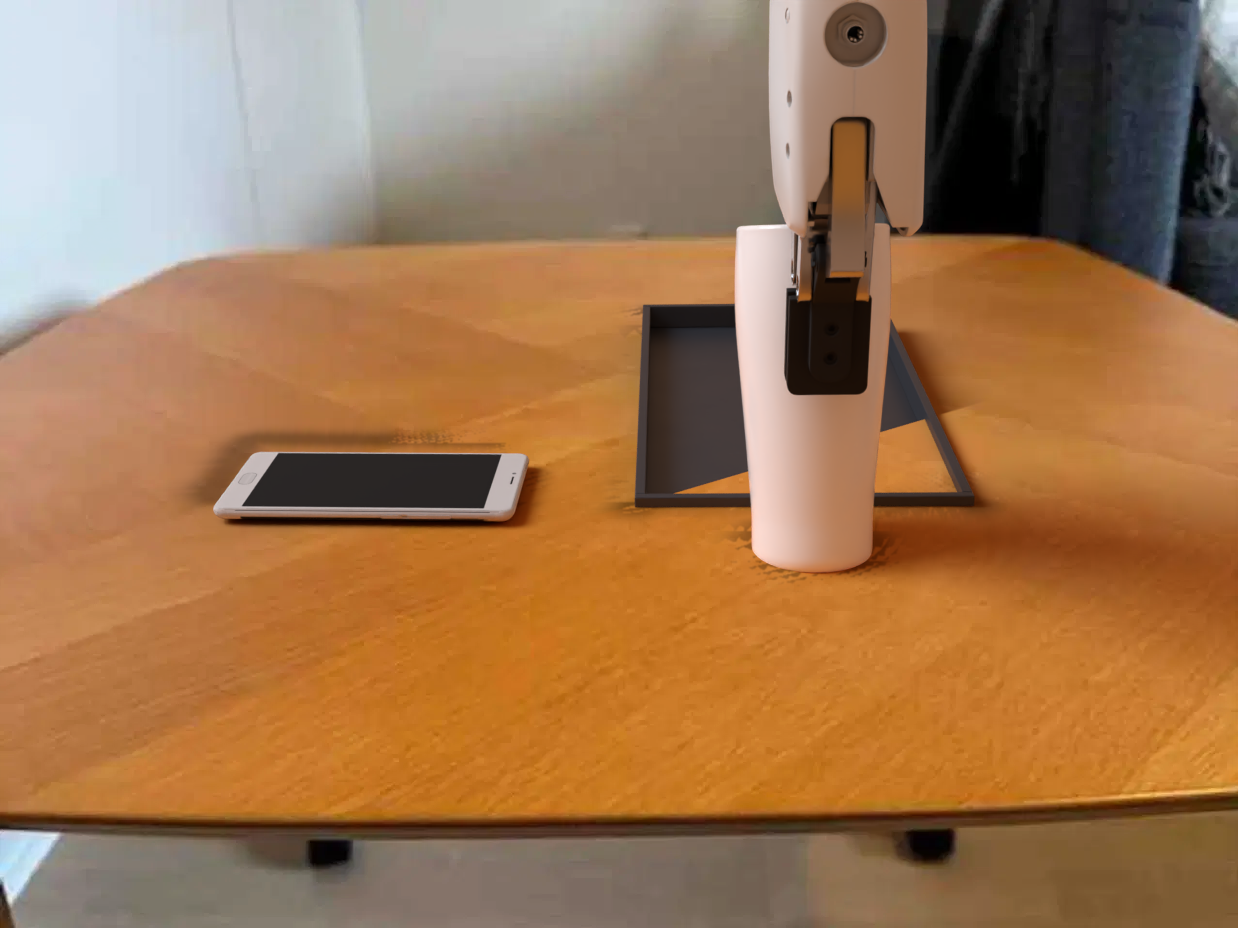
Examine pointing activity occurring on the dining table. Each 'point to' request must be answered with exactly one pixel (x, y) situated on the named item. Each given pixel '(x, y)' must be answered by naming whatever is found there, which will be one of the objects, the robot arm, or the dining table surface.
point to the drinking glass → (806, 418)
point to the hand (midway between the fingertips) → (824, 387)
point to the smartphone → (375, 486)
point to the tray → (738, 411)
